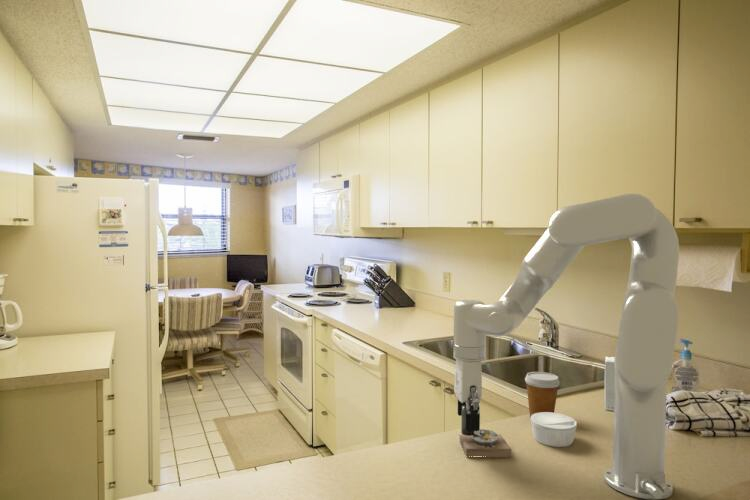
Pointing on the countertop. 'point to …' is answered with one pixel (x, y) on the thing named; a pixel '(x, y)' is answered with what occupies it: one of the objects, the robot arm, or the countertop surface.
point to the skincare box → (609, 383)
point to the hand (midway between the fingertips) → (468, 422)
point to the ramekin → (553, 429)
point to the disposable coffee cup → (541, 391)
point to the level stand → (485, 447)
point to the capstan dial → (478, 432)
